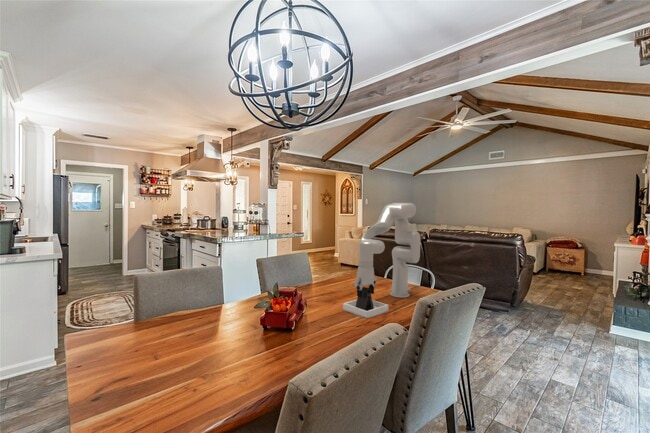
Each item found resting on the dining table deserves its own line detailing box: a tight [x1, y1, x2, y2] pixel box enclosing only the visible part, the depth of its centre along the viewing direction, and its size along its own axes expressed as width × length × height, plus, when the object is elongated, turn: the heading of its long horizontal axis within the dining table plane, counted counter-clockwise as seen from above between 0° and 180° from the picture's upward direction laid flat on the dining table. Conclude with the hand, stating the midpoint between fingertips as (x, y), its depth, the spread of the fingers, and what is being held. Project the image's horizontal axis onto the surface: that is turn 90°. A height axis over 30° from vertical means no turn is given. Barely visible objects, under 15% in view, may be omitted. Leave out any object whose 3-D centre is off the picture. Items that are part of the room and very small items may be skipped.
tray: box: [342, 299, 390, 320], centre depth 164 cm, size 18×17×4 cm
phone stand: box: [355, 286, 374, 311], centre depth 163 cm, size 9×6×12 cm, turn 131°
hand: (365, 295), depth 164 cm, fingers open, 9 cm apart
